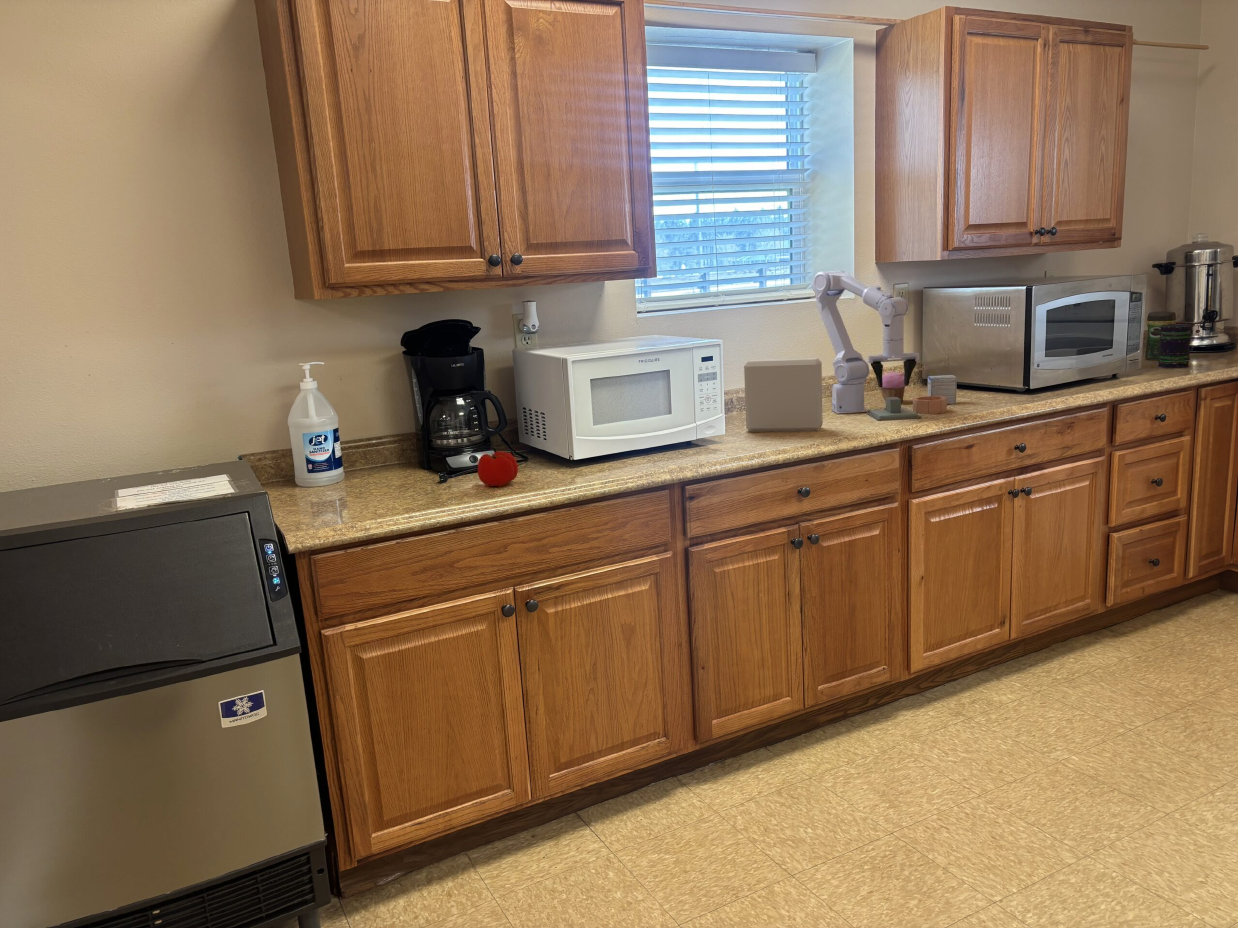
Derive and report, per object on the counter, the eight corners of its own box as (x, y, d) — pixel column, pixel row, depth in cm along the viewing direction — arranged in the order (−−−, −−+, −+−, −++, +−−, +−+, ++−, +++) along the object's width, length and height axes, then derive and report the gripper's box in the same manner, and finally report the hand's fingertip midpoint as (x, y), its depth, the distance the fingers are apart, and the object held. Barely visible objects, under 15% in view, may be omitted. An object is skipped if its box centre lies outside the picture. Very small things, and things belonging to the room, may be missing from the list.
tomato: (479, 490, 206) (476, 459, 205) (479, 482, 215) (476, 451, 213) (520, 486, 208) (517, 455, 206) (518, 478, 216) (515, 448, 215)
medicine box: (952, 402, 284) (953, 374, 282) (956, 404, 280) (957, 376, 278) (927, 403, 285) (927, 376, 283) (930, 405, 281) (930, 377, 279)
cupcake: (913, 402, 288) (913, 371, 286) (892, 405, 285) (892, 374, 283) (893, 399, 296) (893, 369, 294) (872, 402, 293) (872, 372, 291)
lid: (879, 418, 261) (879, 402, 260) (869, 412, 272) (869, 397, 271) (917, 416, 261) (917, 399, 260) (906, 410, 271) (906, 394, 270)
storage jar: (1163, 364, 336) (1166, 324, 333) (1193, 365, 328) (1196, 324, 325) (1153, 367, 330) (1155, 326, 326) (1182, 369, 322) (1185, 327, 319)
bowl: (919, 414, 266) (919, 401, 265) (910, 410, 274) (910, 397, 274) (949, 412, 265) (950, 399, 265) (939, 408, 274) (939, 395, 273)
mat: (877, 420, 260) (877, 419, 260) (866, 414, 273) (866, 412, 272) (921, 418, 260) (920, 416, 260) (908, 411, 272) (908, 410, 272)
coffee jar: (1177, 358, 349) (1180, 310, 346) (1167, 361, 345) (1170, 312, 341) (1151, 357, 357) (1153, 310, 353) (1141, 360, 353) (1143, 312, 349)
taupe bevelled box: (823, 426, 257) (822, 356, 253) (821, 431, 250) (819, 359, 245) (749, 427, 263) (747, 359, 259) (745, 432, 256) (743, 362, 252)
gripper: (871, 342, 258) (872, 389, 261) (922, 339, 258) (922, 386, 260) (865, 340, 265) (865, 386, 268) (915, 337, 264) (914, 383, 267)
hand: (893, 386), depth 264 cm, fingers open, 7 cm apart
